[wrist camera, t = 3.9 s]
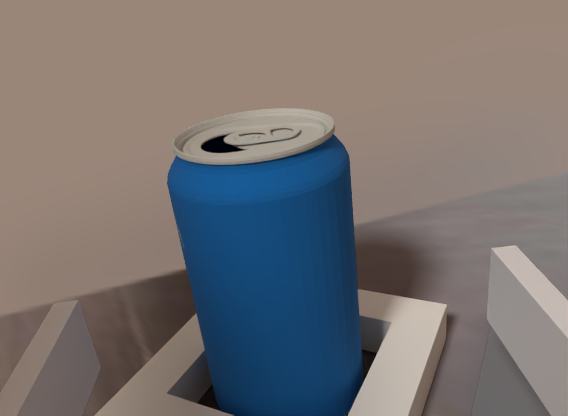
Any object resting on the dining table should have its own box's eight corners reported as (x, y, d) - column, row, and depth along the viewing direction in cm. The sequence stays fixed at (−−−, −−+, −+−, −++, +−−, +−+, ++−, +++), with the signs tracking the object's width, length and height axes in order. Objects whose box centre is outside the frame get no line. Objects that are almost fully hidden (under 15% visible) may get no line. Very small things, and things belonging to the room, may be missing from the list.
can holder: (106, 452, 21) (93, 416, 20) (245, 298, 30) (240, 268, 29) (373, 564, 16) (370, 522, 15) (445, 338, 25) (446, 304, 24)
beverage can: (217, 355, 26) (167, 119, 21) (345, 333, 26) (327, 97, 21) (218, 467, 20) (148, 176, 15) (382, 437, 20) (369, 144, 15)
